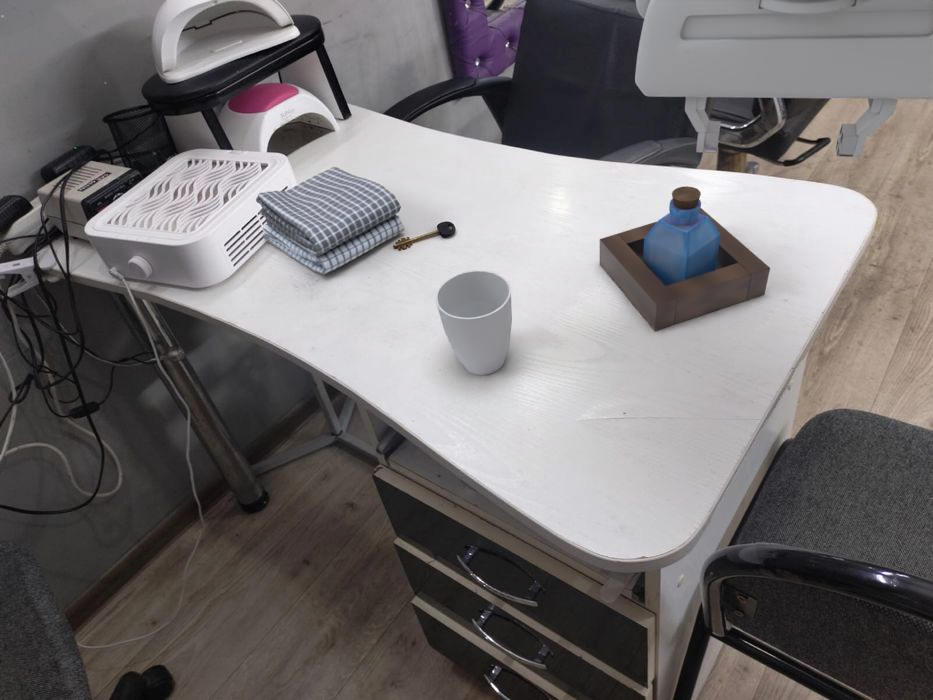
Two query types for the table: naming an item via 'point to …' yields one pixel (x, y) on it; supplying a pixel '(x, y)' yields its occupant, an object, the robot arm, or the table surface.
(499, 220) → the table surface
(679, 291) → the stand
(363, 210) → the towel
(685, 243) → the perfume bottle
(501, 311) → the cup
